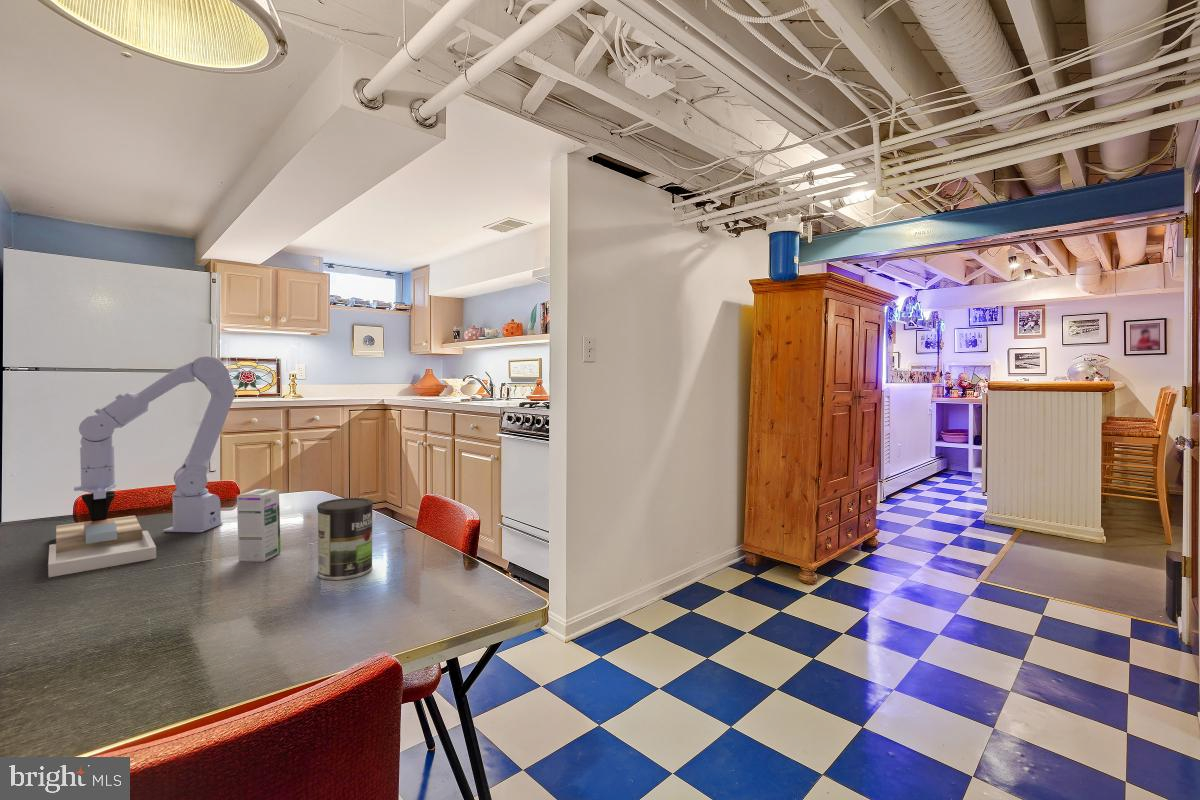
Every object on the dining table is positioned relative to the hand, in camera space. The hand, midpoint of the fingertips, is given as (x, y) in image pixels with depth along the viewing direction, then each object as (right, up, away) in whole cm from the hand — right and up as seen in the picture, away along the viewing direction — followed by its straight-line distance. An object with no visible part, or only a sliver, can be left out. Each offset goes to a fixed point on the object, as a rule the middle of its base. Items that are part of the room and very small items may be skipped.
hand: (99, 524), depth 124 cm
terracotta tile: (+2, -1, -2) cm, 4 cm away
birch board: (-1, -4, +1) cm, 4 cm away
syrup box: (+43, -6, -8) cm, 44 cm away
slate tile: (+6, -2, -6) cm, 8 cm away
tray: (+11, -5, -10) cm, 15 cm away
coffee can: (+65, -6, -15) cm, 67 cm away
